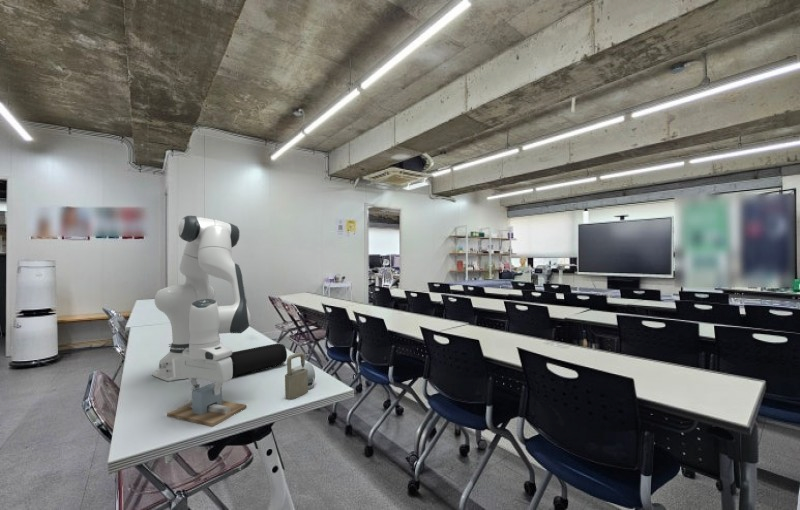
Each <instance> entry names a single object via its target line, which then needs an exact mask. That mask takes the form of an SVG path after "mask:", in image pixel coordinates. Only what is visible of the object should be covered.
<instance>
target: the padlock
mask: <svg viewBox="0 0 800 510" xmlns="http://www.w3.org/2000/svg"><path fill="white" fill-rule="evenodd" d="M299 357H300V365H302V368H303V369H298V370H295V371H292V370H291V369H292V361H293V359H296V358H299ZM305 364H306V358H305V353H303V352H300V351H299V352H297V353H294V354H290V355H289V356H287V359H286V371H287V373H286V374H284V391H285V392H284V393H285V395H284V396H285V399H286V400H287V399H288V400H293V399H296V398H300V397H302V396H304V395H305V394H307V393H309V389H308V386H309V384H308V369H304V365H305Z"/></svg>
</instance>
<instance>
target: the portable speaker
mask: <svg viewBox="0 0 800 510" xmlns="http://www.w3.org/2000/svg"><path fill="white" fill-rule="evenodd" d="M230 357H231V359H232V364H233V376H232V378H234V377H238V376H242V375H246V374H250V373H254V371H255V372H258V370H259V371H263V370H267V369H271V368H275V367H279V366H281V365H282V364H284V363H286V362H287V359H288V352H287V348H286V346H285V344H282V343H273V344H268V345H262V346H257V347H252V348H246V349H241V350H236V351H232V355H230ZM270 367H271V368H270ZM266 368H267V369H266ZM262 369H263V370H262Z"/></svg>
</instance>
